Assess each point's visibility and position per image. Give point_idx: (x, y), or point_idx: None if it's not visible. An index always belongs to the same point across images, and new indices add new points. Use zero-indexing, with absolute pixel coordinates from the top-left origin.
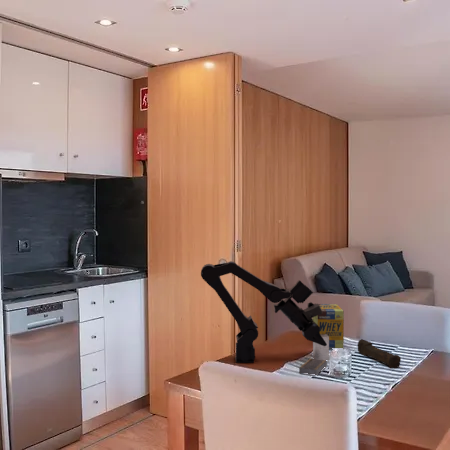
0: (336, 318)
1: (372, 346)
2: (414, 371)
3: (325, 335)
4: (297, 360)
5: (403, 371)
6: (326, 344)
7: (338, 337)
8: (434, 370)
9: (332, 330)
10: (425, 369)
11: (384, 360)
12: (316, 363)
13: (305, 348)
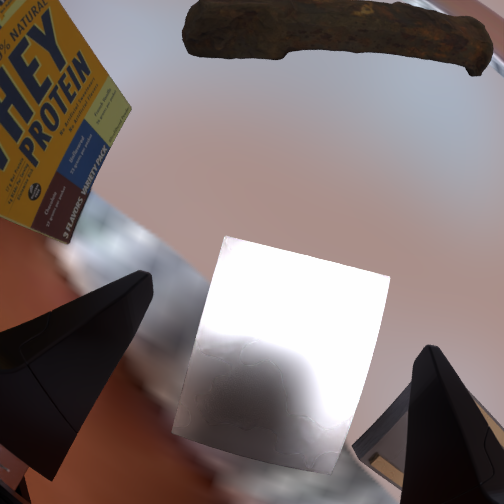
0: (5, 13)
1: (313, 1)
2: (493, 46)
3: (296, 289)
4: (242, 483)
5: (500, 69)
6: (436, 351)
7: (86, 89)
8: (473, 7)
9: (38, 96)
10: (468, 14)
11: (448, 55)
12: None
13: (31, 299)
